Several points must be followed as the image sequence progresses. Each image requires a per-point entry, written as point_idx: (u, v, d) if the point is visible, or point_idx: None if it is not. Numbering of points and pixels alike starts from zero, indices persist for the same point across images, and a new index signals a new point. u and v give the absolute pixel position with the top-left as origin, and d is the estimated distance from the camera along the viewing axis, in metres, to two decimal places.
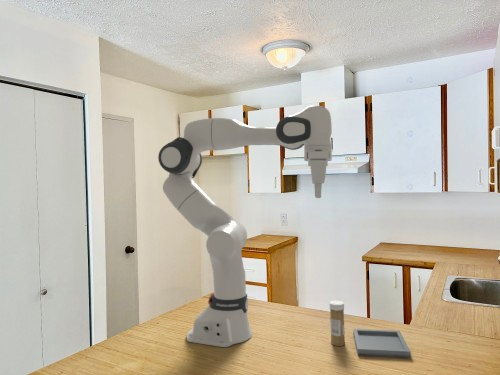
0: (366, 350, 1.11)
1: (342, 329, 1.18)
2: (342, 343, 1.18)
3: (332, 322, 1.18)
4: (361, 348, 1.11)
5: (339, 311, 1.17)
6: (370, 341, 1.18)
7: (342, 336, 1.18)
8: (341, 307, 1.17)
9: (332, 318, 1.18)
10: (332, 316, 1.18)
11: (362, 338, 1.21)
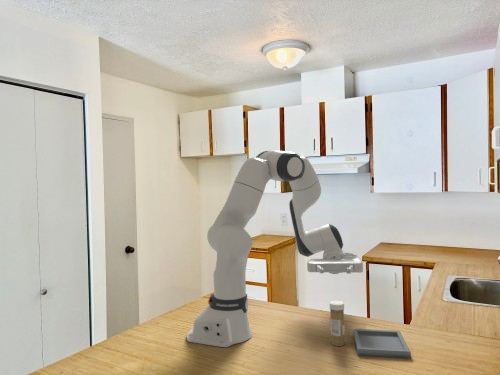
0: (366, 350, 1.11)
1: (342, 329, 1.18)
2: (342, 343, 1.18)
3: (332, 322, 1.18)
4: (361, 348, 1.11)
5: (339, 311, 1.17)
6: (370, 341, 1.18)
7: (342, 336, 1.18)
8: (341, 307, 1.17)
9: (332, 318, 1.18)
10: (332, 316, 1.18)
11: (362, 338, 1.21)
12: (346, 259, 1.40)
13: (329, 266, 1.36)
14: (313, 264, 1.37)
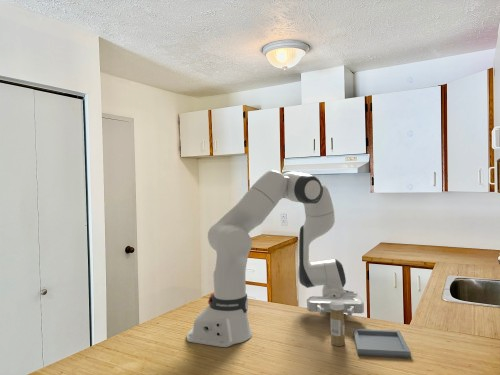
0: (366, 350, 1.11)
1: (342, 329, 1.18)
2: (342, 343, 1.18)
3: (332, 322, 1.18)
4: (361, 348, 1.11)
5: (339, 311, 1.17)
6: (370, 341, 1.18)
7: (342, 336, 1.18)
8: (341, 307, 1.17)
9: (332, 318, 1.18)
10: (332, 316, 1.18)
11: (362, 338, 1.21)
12: (346, 298, 1.37)
13: (329, 306, 1.33)
14: (313, 303, 1.34)
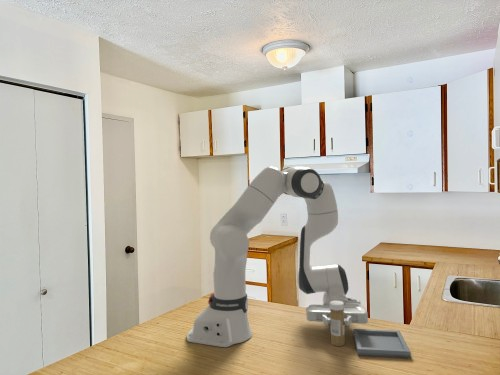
0: (366, 350, 1.11)
1: (342, 329, 1.18)
2: (342, 343, 1.18)
3: (332, 322, 1.18)
4: (361, 348, 1.11)
5: (339, 311, 1.17)
6: (370, 341, 1.18)
7: (342, 336, 1.18)
8: (341, 307, 1.17)
9: (332, 318, 1.18)
10: (332, 316, 1.18)
11: (362, 338, 1.21)
12: (349, 307, 1.28)
13: None
14: (313, 313, 1.24)
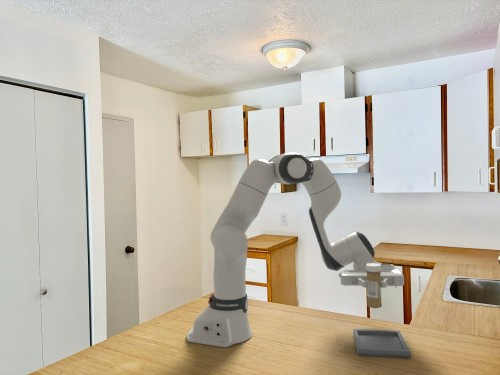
0: (366, 350, 1.11)
1: (379, 291, 1.15)
2: (379, 305, 1.15)
3: (369, 284, 1.16)
4: (361, 348, 1.11)
5: (376, 273, 1.15)
6: (370, 341, 1.18)
7: (379, 298, 1.15)
8: (379, 268, 1.15)
9: (369, 280, 1.16)
10: (369, 278, 1.16)
11: (362, 338, 1.21)
12: (383, 271, 1.25)
13: (366, 279, 1.22)
14: (348, 276, 1.22)
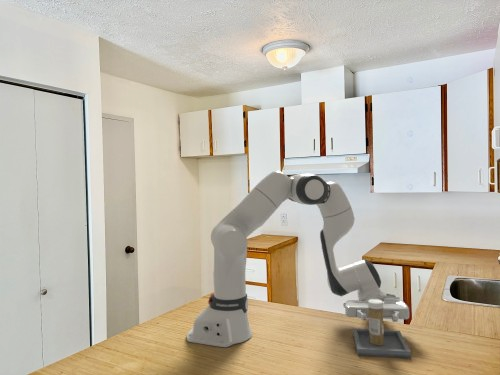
0: (366, 350, 1.11)
1: (381, 328, 1.15)
2: (381, 342, 1.15)
3: (371, 321, 1.16)
4: (361, 348, 1.11)
5: (378, 310, 1.15)
6: None
7: (381, 335, 1.15)
8: (381, 305, 1.15)
9: (371, 317, 1.16)
10: (371, 315, 1.16)
11: (362, 338, 1.21)
12: (388, 302, 1.25)
13: None
14: (352, 308, 1.22)
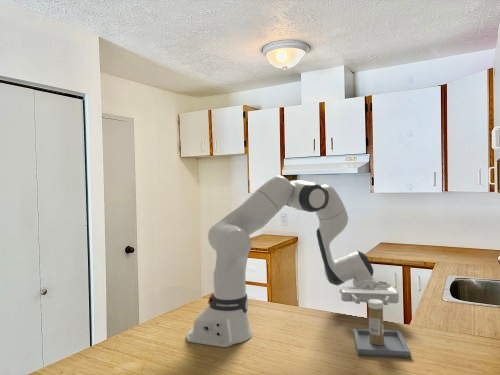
0: (366, 350, 1.11)
1: (381, 328, 1.15)
2: (381, 342, 1.15)
3: (371, 321, 1.16)
4: (361, 348, 1.11)
5: (378, 310, 1.15)
6: None
7: (381, 335, 1.15)
8: (381, 305, 1.15)
9: (371, 317, 1.16)
10: (371, 315, 1.16)
11: (362, 338, 1.21)
12: (380, 288, 1.38)
13: (364, 296, 1.34)
14: (348, 293, 1.35)
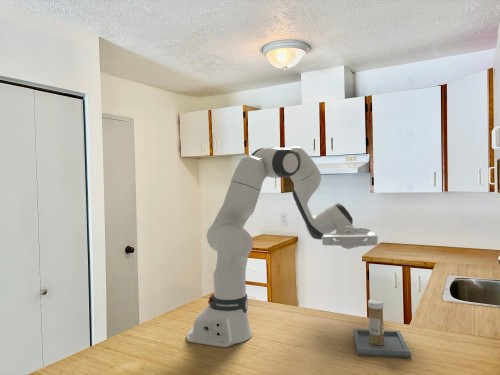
0: (366, 350, 1.11)
1: (381, 328, 1.15)
2: (381, 342, 1.15)
3: (371, 321, 1.16)
4: (361, 348, 1.11)
5: (378, 310, 1.15)
6: None
7: (381, 335, 1.15)
8: (381, 305, 1.15)
9: (371, 317, 1.16)
10: (371, 315, 1.16)
11: (362, 338, 1.21)
12: (360, 233, 1.42)
13: (344, 239, 1.38)
14: (328, 237, 1.38)
